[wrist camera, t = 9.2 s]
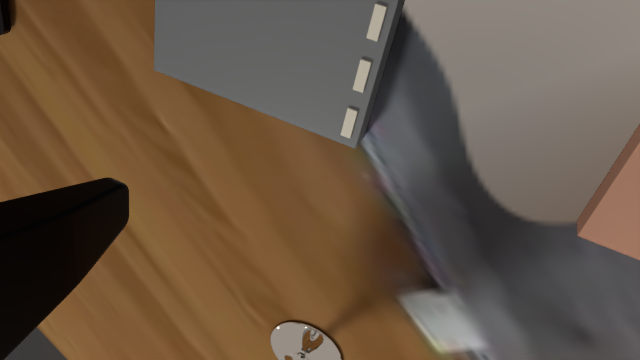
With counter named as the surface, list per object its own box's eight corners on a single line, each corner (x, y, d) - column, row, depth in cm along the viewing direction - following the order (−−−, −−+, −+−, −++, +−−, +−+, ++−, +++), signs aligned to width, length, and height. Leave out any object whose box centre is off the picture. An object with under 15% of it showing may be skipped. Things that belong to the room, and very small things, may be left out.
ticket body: (170, 61, 23) (152, 70, 22) (178, -144, 19) (156, -144, 18) (364, 136, 22) (354, 150, 21) (425, -71, 17) (417, -67, 16)
